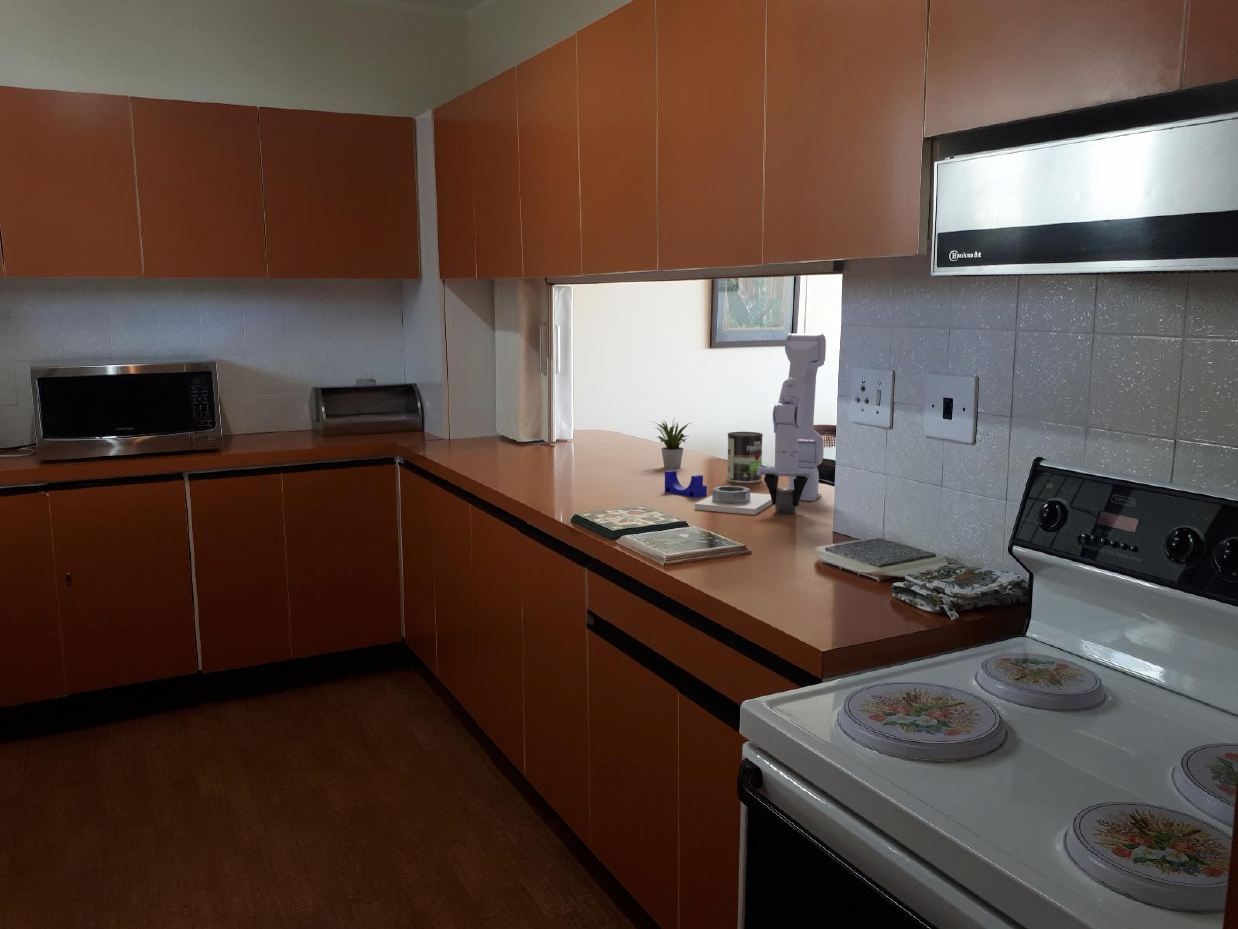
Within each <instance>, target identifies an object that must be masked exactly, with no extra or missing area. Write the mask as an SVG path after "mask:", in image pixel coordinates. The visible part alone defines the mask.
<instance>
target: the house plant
mask: <svg viewBox="0 0 1238 929" xmlns="http://www.w3.org/2000/svg"><path fill="white" fill-rule="evenodd" d="M675 419H676V417H675V418H673V420H672V425H671V426H670V427H668V424H667V421H665V420H664V419H663V420H662V421H661V424H658V423H657V422H655V421H653V423H654V424H655V425H658V427H653V429H654V428H655V429H657V430H659V432H660V433H661V435H662V436H660V435H658V436H656V439H657V438H658V439H659V440H660V443H662V442H663V443H664V445H665V446H664V447H661V453H662V454H661V455H662V461H663V468H664V467H665V468H664V469H668V468H677V469H680V468H681V465H682V460H683V454H684V447H680V445H681V444H682V442H683V443H684V444H685V443H686V438H687V437H689V436H690V435H685V434H684V433H683V431H684V430H685V429H686V428H687V427H688V425H690V424H692V422H689V423H686V424H685V425H683V427H681V428H680V429H679V423H678V422H676V424H674V423H675ZM650 422H651V423H652V421H650ZM650 422H649V423H650ZM659 427H660V428H659ZM674 429H675V430H674ZM683 438H684V439H683Z"/></svg>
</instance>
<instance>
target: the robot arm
mask: <svg viewBox="0 0 1238 929" xmlns="http://www.w3.org/2000/svg"><path fill="white" fill-rule="evenodd" d="M826 339H827V338H826V336H825V335H824V333H789V332H788V334H786V337H785V342H784V353H785V355H786V356H787V359H788V361H789V371H788V379H786V380H784V381H783V382H782V385H781V386H782V387H781V390H780V394H779V399H778V402H777V404H775V405H774V406H773V409H772V422H773V432H774V434H775V436H774V437H775V438H774V440H775V441H774V466H763V465H762V466H759V467H757V475H761V476H764V478H763V480H764V483H765V485H766V487H767V489H768V492H769V494H770V496H771V500H772V505H773V506H775V498H776V488H779V487H778V486H779V477H788V480H789V481H788V487H790V488H794V506H796V507H798V506H799V505H800V501H805V502H806V501H808V502H813V501H816V500H818V499H819V498H820V497H821V496H822V495H823V494H822V493H819V482H820V481H819V479H820V474H819V472H820V471H819V469H818V466H820V465H821V463H822V462H823V459H824V452H825V451H824V438H823V436H822V435H821V434H820V433H819V432H818V431H816V430H815V429H814V421H815V420H814V419H815V418H814V417H815V403H816V402H815V401H816V385H817V383H816V382H817V373H818V369H819V367H822V366H824V365H825V361H826V353H827V352H826V351H827V350H826V348H827V340H826ZM804 440H805V441H804ZM806 440H809V441H806ZM811 440H812V441H811ZM796 507H795V508H796Z"/></svg>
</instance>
